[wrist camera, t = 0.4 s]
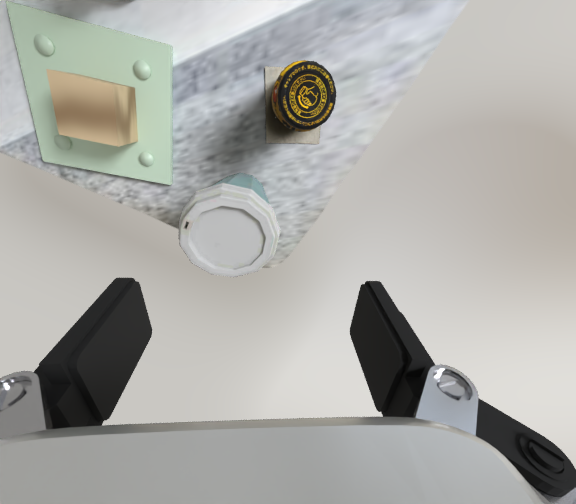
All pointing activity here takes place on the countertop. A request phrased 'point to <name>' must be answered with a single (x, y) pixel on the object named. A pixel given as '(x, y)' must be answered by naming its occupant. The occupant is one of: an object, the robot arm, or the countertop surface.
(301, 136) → the condiment
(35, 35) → the build plate
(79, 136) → the oak brick
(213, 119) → the countertop surface
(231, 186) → the disposable coffee cup
